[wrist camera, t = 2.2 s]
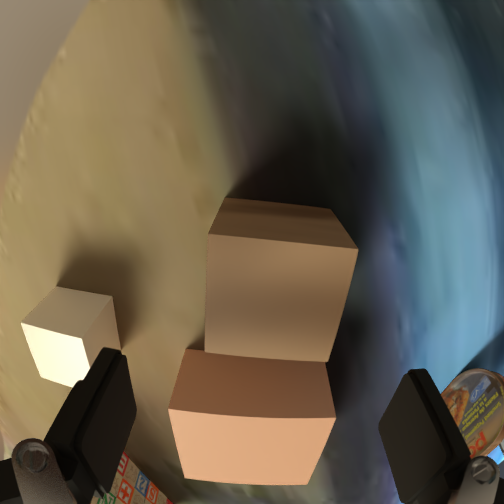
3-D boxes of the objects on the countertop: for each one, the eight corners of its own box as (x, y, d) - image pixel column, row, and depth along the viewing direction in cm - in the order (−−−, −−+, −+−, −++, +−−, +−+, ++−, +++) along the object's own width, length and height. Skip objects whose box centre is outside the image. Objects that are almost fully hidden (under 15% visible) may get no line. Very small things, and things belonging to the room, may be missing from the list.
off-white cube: (56, 285, 21) (20, 322, 16) (112, 295, 21) (81, 338, 16) (69, 337, 23) (41, 377, 18) (121, 349, 23) (98, 394, 18)
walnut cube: (225, 197, 18) (207, 233, 12) (330, 208, 18) (358, 249, 12) (219, 290, 20) (204, 352, 15) (312, 298, 20) (327, 361, 15)
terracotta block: (186, 346, 22) (168, 408, 17) (323, 354, 22) (336, 417, 17) (195, 425, 26) (184, 477, 21) (302, 430, 26) (306, 484, 21)
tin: (476, 349, 22) (520, 414, 14) (493, 354, 23) (534, 414, 15) (385, 448, 28) (401, 510, 20) (405, 449, 28) (422, 507, 21)
